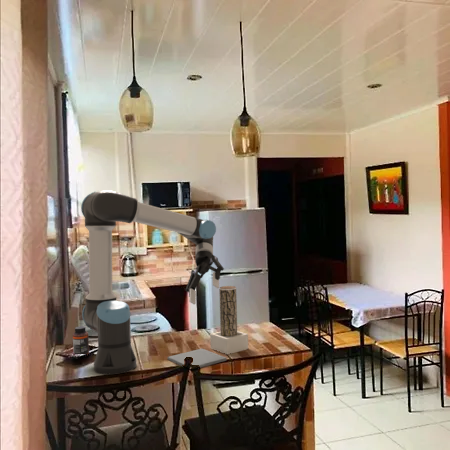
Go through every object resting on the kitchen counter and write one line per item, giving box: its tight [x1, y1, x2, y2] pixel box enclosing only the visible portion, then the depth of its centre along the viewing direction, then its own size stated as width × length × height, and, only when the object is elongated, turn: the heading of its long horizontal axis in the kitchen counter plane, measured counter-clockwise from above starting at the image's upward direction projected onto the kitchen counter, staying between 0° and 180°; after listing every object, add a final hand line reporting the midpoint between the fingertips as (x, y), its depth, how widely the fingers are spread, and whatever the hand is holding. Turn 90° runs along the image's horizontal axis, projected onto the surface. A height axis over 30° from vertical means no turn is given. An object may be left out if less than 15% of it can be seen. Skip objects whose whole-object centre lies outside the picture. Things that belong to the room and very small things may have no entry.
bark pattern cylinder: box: [218, 285, 238, 338], centre depth 190 cm, size 7×7×25 cm
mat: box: [167, 348, 228, 368], centre depth 177 cm, size 16×16×1 cm
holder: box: [209, 330, 249, 355], centre depth 191 cm, size 11×11×6 cm
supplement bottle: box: [72, 325, 90, 356], centre depth 187 cm, size 6×6×11 cm
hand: (203, 294), depth 184 cm, fingers open, 13 cm apart
